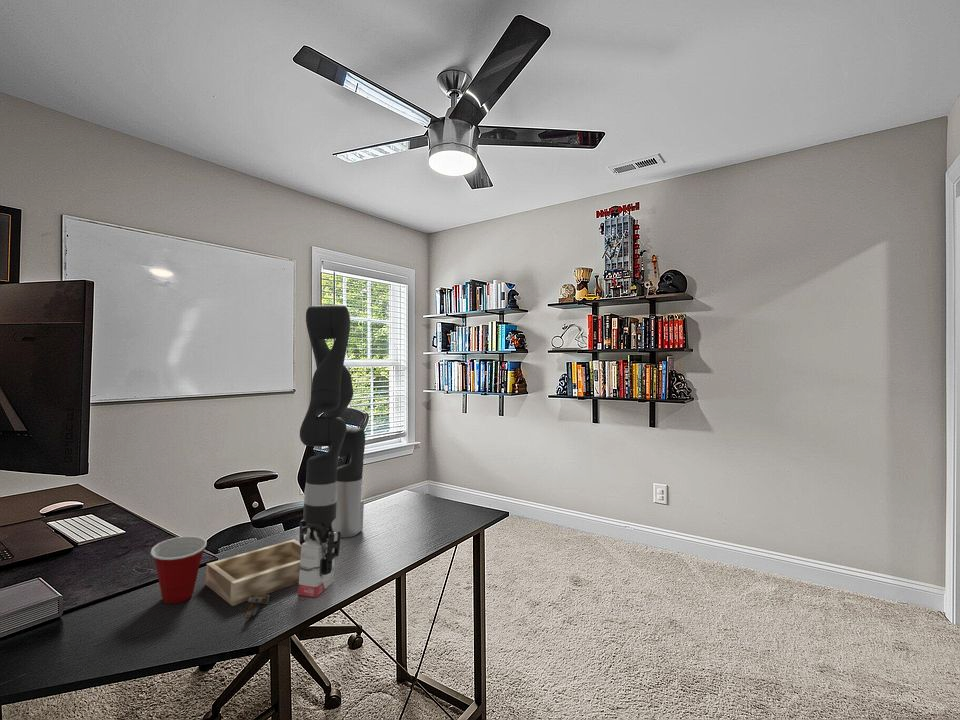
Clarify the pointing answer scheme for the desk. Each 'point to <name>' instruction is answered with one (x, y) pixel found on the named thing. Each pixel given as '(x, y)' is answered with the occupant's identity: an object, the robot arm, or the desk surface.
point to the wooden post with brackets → (253, 599)
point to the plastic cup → (178, 566)
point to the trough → (255, 572)
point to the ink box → (313, 570)
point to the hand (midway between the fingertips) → (317, 568)
